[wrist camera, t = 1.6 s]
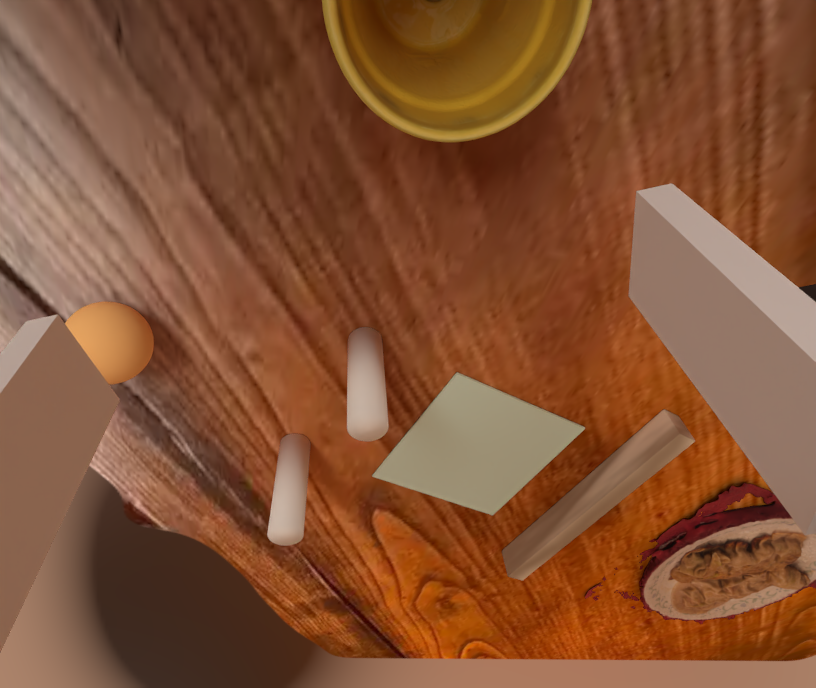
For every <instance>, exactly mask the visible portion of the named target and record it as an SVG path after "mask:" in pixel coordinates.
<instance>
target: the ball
mask: <svg viewBox="0 0 816 688" xmlns="http://www.w3.org/2000/svg"><path fill="white" fill-rule="evenodd" d="M65 325H66V326H67V327H68V329H69V330H70V332H71V333H72V334H73V336H74V337H75V339H76V340H77V341H78V343H79V344H80V345H81V347H82V348H83V350H84V351H85V352H86V354H87V355H88V356H89V358H90V359H91V361H92V362H93V363H94V365H95V366H96V367H97V369H98V370H99V372H100V373H101V374H102V376H103V377H104V378H105V380H106V381H107V383H108V384H117V383H121V382H125V381H127V380H129V379H131V378H133V377H135V376H136V375H138V374H139V373H140V372H141V371H142V370H143V369H144V368H145V367H146V365H147V364H148V362H149V361H150V359H151V356H152V353H153V348H154V337H153V333H152V330H151V328H150V326H149V324H148V322H147V321H146V320H145V318H144V317H143V316H142V315H141V314H140V313H139V312H137V311H136V310H134V309H133V308H131V307H129V306H127V305H124V304H121V303H116V302H98V303H93V304H90V305H87V306H85V307H83V308H81V309H79V310H78V311H76V312H75V313H74V314H73V315H72V316H71V317H70V318H69V319H68V320H67V321H66V323H65Z"/></svg>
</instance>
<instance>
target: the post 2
mask: <svg viewBox="0 0 816 688" xmlns="http://www.w3.org/2000/svg"><path fill="white" fill-rule="evenodd" d="M388 427H389V425H388V412H387V398H386V385H385V371H384V357H383V344H382V337H381V335H380V333H379V332H378V331H377V330H375V329H373V328H370V327H361V328H358V329H355V330H354V331H352V332H351V334H350V335H349V337H348V373H347V431H348V433H349V434H350V435H351V436H352V437H353V438H355V439H357V440H360V441H374V440H377V439H379V438H381V437H383V436H384V435H385V434H386V432H387V431H388Z"/></svg>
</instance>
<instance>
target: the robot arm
mask: <svg viewBox="0 0 816 688" xmlns="http://www.w3.org/2000/svg"><path fill="white" fill-rule="evenodd" d="M629 297H630V299H631V300H632V301H633V303H634V304H635V305H636V307H637V308H638V310H639V311H640V312H641V314H642V315H643V316H644V318H645V319H646V320H647V322H648V323H649V324H650V326H651V327H652V329H653V330H654V331H655V333H656V334H657V335H658V337H659V338H660V339H661V341H662V342H663V343H664V345H665V346H666V348H667V349H668V350H669V352H670V353H671V354H672V356H673V357H674V358H675V360H676V361H677V362H678V364H679V365H680V367H681V368H682V369H683V371H684V372H685V373H686V375H687V376H688V377H689V379H690V380H691V381H692V383H693V384H694V386H695V387H696V388H697V390H698V391H699V392H700V394H701V395H702V396H703V398H704V399H705V400H706V402H707V403H708V404H709V406H710V407H711V409H712V410H713V411H714V413H715V414H716V415H717V417H718V418H719V419H720V421H721V422H722V423H723V425H724V426H725V428H726V429H727V430H728V432H729V433H730V434H731V436H732V437H733V438H734V440H735V441H736V442H737V444H738V445H739V447H740V448H741V449H742V451H743V452H744V453H745V455H746V456H747V457H748V459H749V460H750V461H751V463H752V464H753V466H754V467H755V468H756V470H757V471H758V472H759V474H760V475H761V476H762V478H763V479H764V480H765V482H766V483H767V485H768V486H769V487H770V489H771V490H772V491H773V493H774V494H775V495H776V497H777V498H778V499H779V501H780V502H781V504H782V505H783V506H784V508H785V509H786V510H787V512H788V513H789V514H790V516H791V517H792V518H793V520H794V521H795V523H796V524H797V525H798V527H799V528H800V529H801V531H802V532H803V533H804V535H809V534H815V533H816V284H814V285H809V286H804V287H799V288H798V287H797V286H796V285H795V284H793V283H792V282H791V281H790V280H788V279H787V278H786V277H785V276H784V275H782V274H781V273H780V272H779V271H778V270H776V269H775V268H774V267H773V266H771V265H770V264H769V263H768V262H767V261H765V260H764V259H763V258H762V257H761V256H759V255H758V254H757V253H756V252H755V251H753V250H752V249H751V248H750V247H748V246H747V245H746V244H745V243H744V242H742V241H741V240H740V239H739V238H738V237H736V236H735V235H734V234H733V233H731V232H730V231H729V230H728V229H727V228H725V227H724V226H723V225H722V224H721V223H719V222H718V221H717V220H716V219H715V218H713V217H712V216H711V215H710V214H708V213H707V212H706V211H705V210H704V209H702V208H701V207H700V206H699V205H698V204H696V203H695V202H694V201H693V200H691V199H690V198H689V197H688V196H687V195H685V194H684V193H683V192H682V191H681V190H679V189H678V188H677V187H676V186H675V185H673V184H667V185H662V186H658V187H653V188H648V189H644V190H639V191H636V202H635V216H634V230H633V243H632V257H631V271H630V284H629ZM119 401H120V399H119V398H118V396H117V395H116V394H115V392H114V391H113V390H112V388H111V387H110V385H109V384H108V383H107V381H106V380H105V378H104V377H103V376H102V374H101V373H100V372H99V370H98V369H97V367H96V366H95V365H94V363H93V362H92V361H91V359H90V358H89V356H88V355H87V354H86V352H85V351H84V350H83V348H82V347H81V345H80V344H79V343H78V341H77V340H76V339H75V337H74V336H73V334H72V333H71V332H70V330H69V329H68V327H67V326H66V325H65V323H64V322H63V321H62V319H61V318H60V316H59V315H53V316H48V317H44V318H39V319H34V320H30V321H26V322H25V323H24V325H23V326H22V327H21V328H20V330H19V331H18V332H17V333H16V335H15V336H14V337H13V338H12V340H11V341H10V342H9V343H8V345H7V346H6V347H5V348H4V350H3V351H2V352H1V353H0V652H1V650H2V648H3V646H4V644H5V641H6V639H7V637H8V635H9V633H10V631H11V629H12V627H13V624H14V622H15V620H16V618H17V616H18V614H19V612H20V610H21V608H22V606H23V603H24V601H25V599H26V597H27V595H28V593H29V590H30V589H31V587H32V584H33V582H34V580H35V578H36V576H37V574H38V572H39V570H40V568H41V566H42V563H43V561H44V559H45V557H46V555H47V553H48V551H49V549H50V547H51V544H52V542H53V540H54V538H55V536H56V534H57V532H58V530H59V527H60V525H61V523H62V521H63V519H64V517H65V515H66V513H67V511H68V509H69V506H70V504H71V502H72V500H73V498H74V496H75V494H76V492H77V490H78V487H79V485H80V483H81V481H82V479H83V477H84V475H85V473H86V471H87V469H88V466H89V464H90V462H91V460H92V458H93V456H94V454H95V452H96V450H97V447H98V445H99V443H100V441H101V439H102V437H103V435H104V433H105V431H106V428H107V426H108V424H109V422H110V420H111V418H112V416H113V414H114V412H115V409H116V407H117V405H118V403H119Z"/></svg>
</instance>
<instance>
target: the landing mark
mask: <svg viewBox="0 0 816 688" xmlns="http://www.w3.org/2000/svg"><path fill="white" fill-rule="evenodd" d="M584 429H585V427H583V426H581V425H579V424H576V423H574V422H572V421H570V420H567V419H565V418H563V417H560V416H558V415H556V414H553V413H551V412H549V411H546V410H544V409H542V408H539V407H537V406H535V405H532V404H530V403H528V402H525V401H523V400H521V399H518V398H516V397H514V396H511V395H509V394H507V393H504V392H502V391H500V390H497V389H495V388H493V387H491V386H488V385H486V384H484V383H481V382H479V381H477V380H474V379H472V378H470V377H467V376H465V375H463V374H460V373H458V372H457V373H456V374H455V375H454V376H453V377H452V379H451V380H450V381H449V382H448V383H447V385H446V386H445V387H444V388H443V390H442V391H441V392H440V393H439V394H438V396H437V397H436V398H435V399H434V400H433V402H432V403H431V404H430V405H429V407H428V408H427V409H426V410H425V411H424V413H423V414H422V415H421V416H420V418H419V419H418V420H417V421H416V422H415V424H414V425H413V426H412V427H411V428H410V430H409V431H408V432H407V433H406V435H405V436H404V437H403V438H402V439H401V441H400V442H399V443H398V444H397V446H396V447H395V448H394V449H393V450H392V452H391V453H390V454H389V455H388V456H387V458H386V459H385V460H384V461H383V463H382V464H381V465H380V466H379V467H378V469H377V470H376V471H375V472H374V474H373V475H372V477H375V478H378V479H381V480H384V481H387V482H391V483H394V484H397V485H400V486H403V487H406V488H409V489H412V490H415V491H418V492H422V493H425V494H428V495H431V496H434V497H437V498H440V499H443V500H446V501H449V502H453V503H456V504H459V505H462V506H465V507H468V508H471V509H474V510H477V511H481V512H484V513H487V514H490V515H494V514H495V513H496V512H497V511H498V510H499V509H500V508H501V507H502V506H503V505H504V504H506V503H507V502H508V501H509V500H510V499H511V498H512V497H513V496H514V495H515V494H516V493H517V492H518V491H519V490H520V489H522V488H523V487H524V486H525V485H526V484H527V483H528V482H529V481H530V480H531V479H532V478H533V477H534V476H535V475H536V474H538V473H539V472H540V471H541V470H542V469H543V468H544V467H545V466H546V465H547V464H548V463H549V462H550V461H551V460H552V459H553V458H555V457H556V456H557V455H558V454H559V453H560V452H561V451H562V450H563V449H564V448H565V447H566V446H567V445H568V444H569V443H571V442H572V441H573V440H574V439H575V438H576V437H577V436H578V435H579V434H580V433H581V432H582V431H583V430H584Z"/></svg>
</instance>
